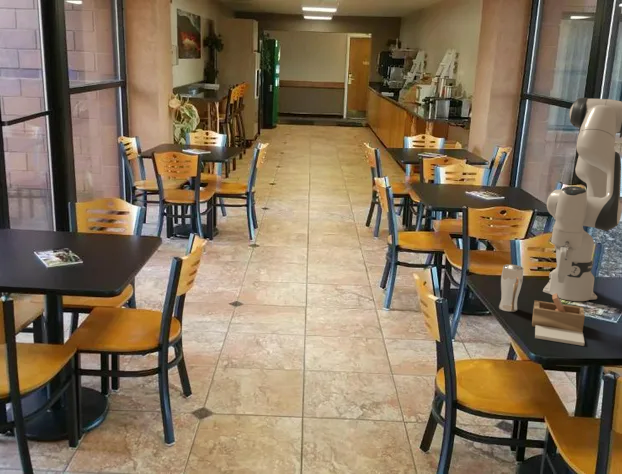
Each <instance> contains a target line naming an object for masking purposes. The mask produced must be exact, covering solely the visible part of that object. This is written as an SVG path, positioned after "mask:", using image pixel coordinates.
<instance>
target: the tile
mask: <svg viewBox="0 0 622 474" xmlns="http://www.w3.org/2000/svg"><path fill="white" fill-rule="evenodd" d="M551 298H552V301H553V303H555V305H556V307H557V309H555V310H556V311H563V312H566V311H565V309H564V307H563V304H564V303H562V301H561V298H559V296H558V294H557V293H556V294H553V295H551Z"/></svg>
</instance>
